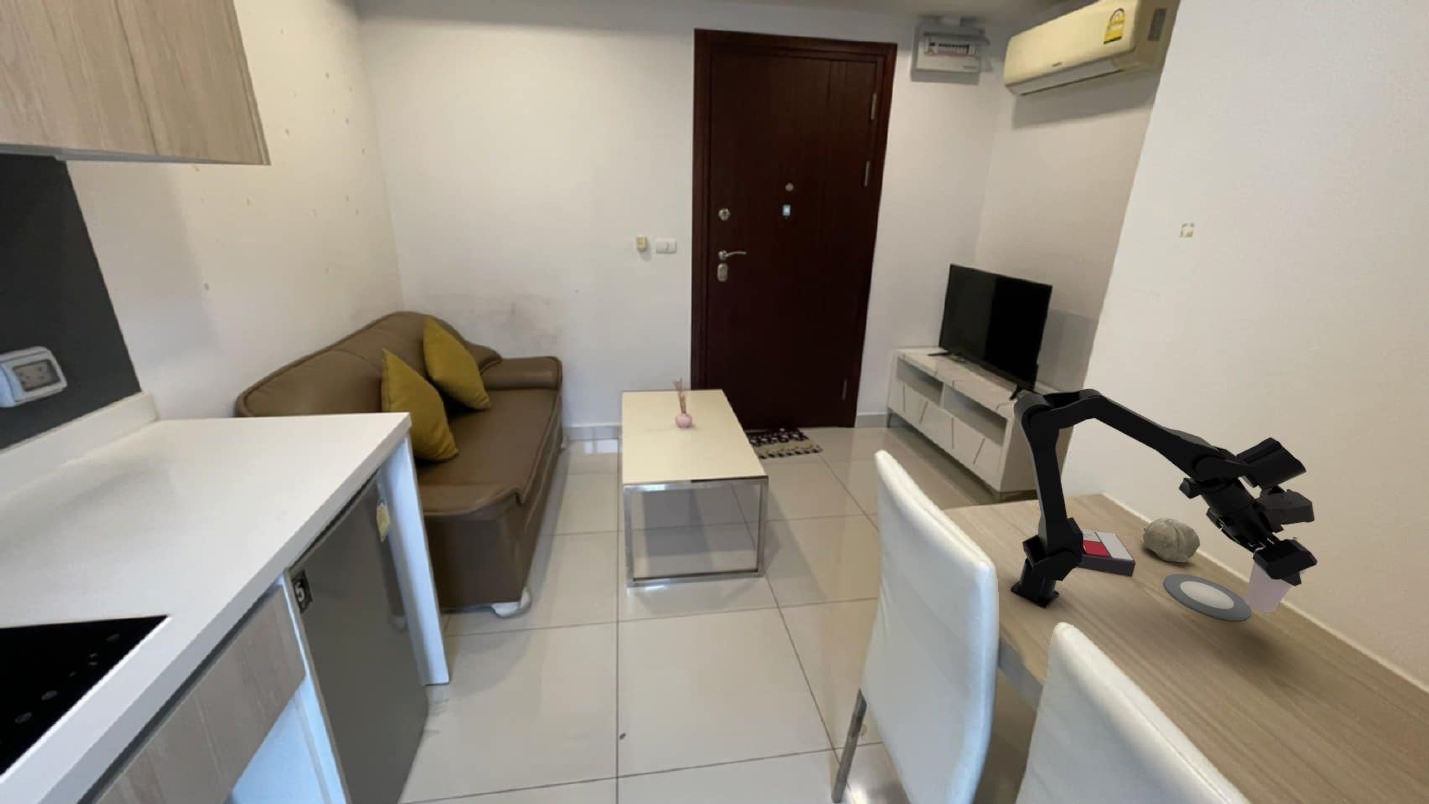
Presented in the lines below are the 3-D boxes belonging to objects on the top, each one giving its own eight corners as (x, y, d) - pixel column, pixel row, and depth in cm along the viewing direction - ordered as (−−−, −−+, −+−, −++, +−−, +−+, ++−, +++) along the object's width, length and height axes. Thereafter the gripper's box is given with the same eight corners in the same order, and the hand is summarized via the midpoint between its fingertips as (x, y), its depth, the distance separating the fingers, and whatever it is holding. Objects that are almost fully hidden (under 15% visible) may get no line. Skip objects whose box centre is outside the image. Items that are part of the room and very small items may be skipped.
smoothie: (1275, 623, 94) (1310, 551, 89) (1227, 600, 99) (1258, 530, 94) (1289, 611, 97) (1324, 541, 92) (1242, 589, 102) (1273, 521, 97)
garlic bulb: (1185, 574, 120) (1220, 545, 114) (1149, 567, 119) (1182, 538, 113) (1160, 539, 127) (1191, 509, 121) (1125, 532, 127) (1155, 502, 121)
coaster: (1241, 631, 100) (1243, 628, 100) (1154, 592, 110) (1155, 589, 109) (1256, 602, 108) (1258, 599, 108) (1173, 568, 118) (1174, 565, 117)
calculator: (1039, 521, 127) (1116, 531, 123) (1036, 538, 128) (1112, 548, 124) (1053, 548, 117) (1137, 559, 113) (1049, 566, 118) (1132, 578, 114)
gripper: (1327, 505, 82) (1387, 585, 83) (1251, 454, 99) (1301, 521, 100) (1243, 541, 86) (1301, 616, 88) (1183, 486, 103) (1232, 550, 105)
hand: (1284, 572), depth 95 cm, fingers closed on smoothie, 6 cm apart
